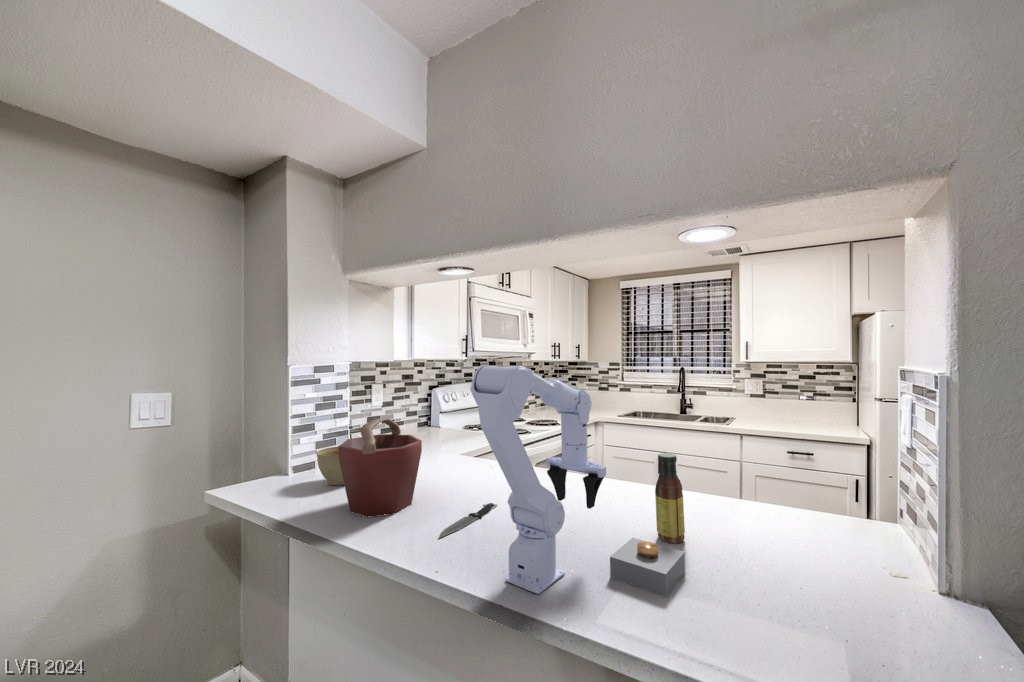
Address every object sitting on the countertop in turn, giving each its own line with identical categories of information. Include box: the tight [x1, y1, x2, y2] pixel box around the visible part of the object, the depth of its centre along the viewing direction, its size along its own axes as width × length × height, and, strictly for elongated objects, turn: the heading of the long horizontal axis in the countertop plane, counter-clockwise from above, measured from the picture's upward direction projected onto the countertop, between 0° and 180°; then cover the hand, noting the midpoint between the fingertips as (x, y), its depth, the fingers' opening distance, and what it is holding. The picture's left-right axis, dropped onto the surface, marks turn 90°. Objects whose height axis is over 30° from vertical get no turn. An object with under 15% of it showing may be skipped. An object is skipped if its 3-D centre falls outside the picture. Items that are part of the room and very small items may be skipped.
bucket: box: [338, 417, 423, 518], centre depth 127 cm, size 24×22×25 cm
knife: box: [438, 502, 498, 539], centre depth 115 cm, size 26×1×5 cm
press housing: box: [609, 537, 686, 597], centre depth 87 cm, size 11×11×4 cm
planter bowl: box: [316, 445, 345, 486], centre depth 150 cm, size 16×16×11 cm
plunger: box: [637, 540, 658, 559], centre depth 87 cm, size 4×4×6 cm
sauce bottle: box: [654, 452, 686, 544], centre depth 103 cm, size 6×6×20 cm
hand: (575, 503), depth 98 cm, fingers open, 7 cm apart
